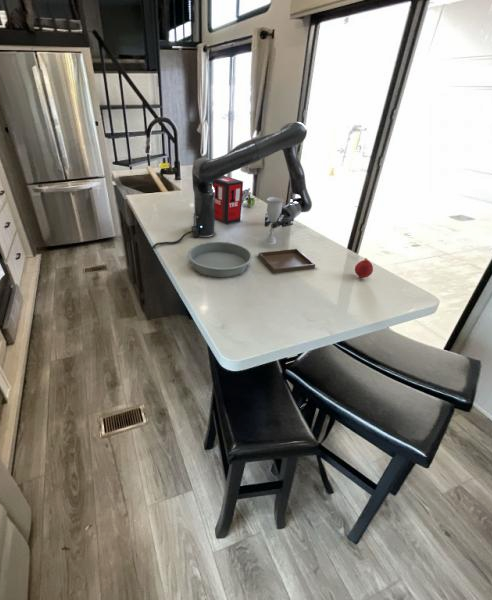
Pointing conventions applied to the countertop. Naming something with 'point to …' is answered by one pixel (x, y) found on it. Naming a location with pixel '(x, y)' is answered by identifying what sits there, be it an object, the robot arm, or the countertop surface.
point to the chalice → (273, 215)
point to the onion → (364, 268)
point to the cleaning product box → (228, 199)
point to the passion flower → (245, 197)
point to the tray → (286, 260)
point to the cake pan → (219, 258)
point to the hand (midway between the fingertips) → (269, 225)
